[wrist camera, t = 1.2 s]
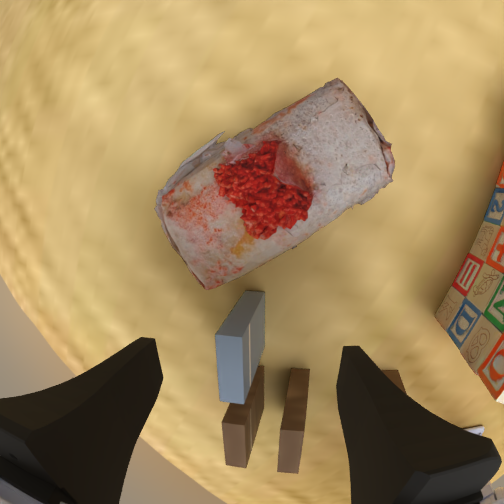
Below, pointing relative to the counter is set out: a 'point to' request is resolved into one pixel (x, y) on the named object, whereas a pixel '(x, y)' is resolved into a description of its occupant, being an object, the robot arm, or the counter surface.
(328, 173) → the food item
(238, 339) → the placed domino
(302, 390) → the domino
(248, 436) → the domino
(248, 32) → the counter surface
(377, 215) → the counter surface
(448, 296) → the stack of blocks
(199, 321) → the counter surface
